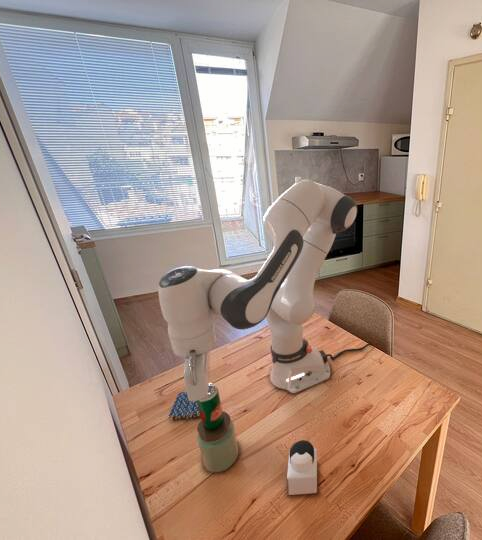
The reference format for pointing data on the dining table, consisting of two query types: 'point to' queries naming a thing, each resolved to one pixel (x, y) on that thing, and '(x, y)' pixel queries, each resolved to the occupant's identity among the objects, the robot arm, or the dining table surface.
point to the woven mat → (184, 407)
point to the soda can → (211, 410)
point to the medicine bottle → (302, 468)
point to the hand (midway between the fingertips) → (205, 383)
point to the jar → (218, 445)
